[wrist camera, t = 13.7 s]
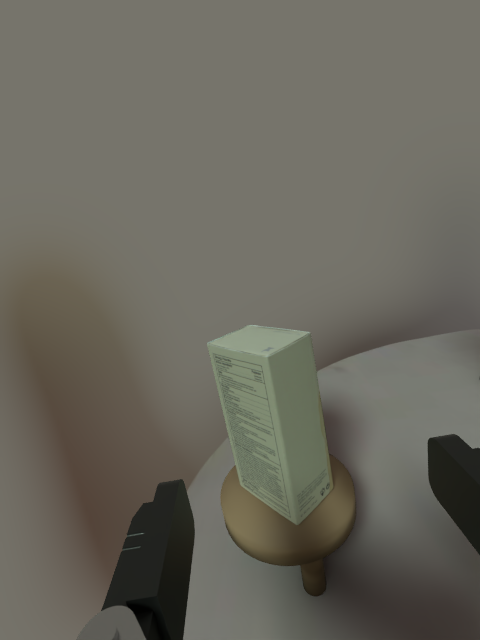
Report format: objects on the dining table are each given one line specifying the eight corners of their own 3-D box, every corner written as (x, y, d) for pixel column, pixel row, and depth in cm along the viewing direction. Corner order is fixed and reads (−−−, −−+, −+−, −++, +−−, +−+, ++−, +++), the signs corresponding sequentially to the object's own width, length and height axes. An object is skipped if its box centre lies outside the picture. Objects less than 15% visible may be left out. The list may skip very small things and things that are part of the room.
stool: (318, 484, 33) (311, 431, 31) (390, 578, 23) (385, 509, 22) (221, 522, 30) (208, 467, 29) (258, 644, 21) (242, 572, 20)
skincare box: (335, 489, 24) (317, 331, 21) (296, 530, 22) (268, 357, 18) (273, 455, 29) (250, 322, 26) (234, 485, 26) (204, 341, 23)
